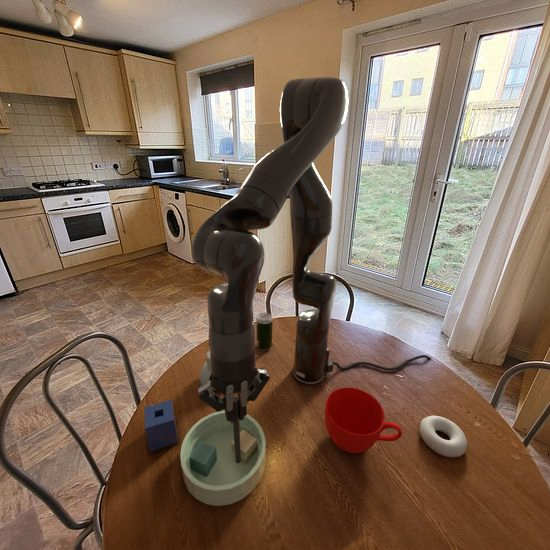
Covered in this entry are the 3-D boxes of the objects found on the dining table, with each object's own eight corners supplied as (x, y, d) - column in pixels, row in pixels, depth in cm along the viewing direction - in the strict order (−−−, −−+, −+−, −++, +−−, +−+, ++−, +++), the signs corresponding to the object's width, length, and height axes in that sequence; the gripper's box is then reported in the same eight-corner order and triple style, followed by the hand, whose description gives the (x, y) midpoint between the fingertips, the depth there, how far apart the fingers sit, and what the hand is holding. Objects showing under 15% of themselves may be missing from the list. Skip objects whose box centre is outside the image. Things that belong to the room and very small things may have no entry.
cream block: (256, 450, 66) (256, 438, 64) (245, 465, 63) (245, 453, 61) (243, 441, 68) (242, 429, 66) (231, 455, 65) (230, 442, 63)
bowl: (250, 417, 74) (250, 401, 72) (277, 485, 60) (278, 468, 57) (178, 440, 68) (176, 424, 66) (189, 524, 53) (186, 506, 51)
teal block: (217, 459, 64) (216, 447, 62) (206, 477, 60) (205, 465, 59) (201, 452, 65) (200, 440, 63) (190, 469, 62) (188, 457, 60)
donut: (469, 467, 64) (459, 428, 73) (474, 457, 63) (463, 419, 71) (420, 452, 67) (416, 416, 75) (423, 442, 65) (419, 407, 74)
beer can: (261, 353, 97) (261, 323, 92) (253, 344, 101) (253, 315, 96) (275, 347, 100) (275, 318, 95) (266, 339, 104) (267, 310, 99)
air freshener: (214, 365, 91) (212, 339, 87) (238, 370, 89) (238, 344, 85) (196, 391, 82) (193, 363, 77) (223, 398, 80) (221, 369, 75)
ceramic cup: (395, 483, 61) (405, 451, 56) (316, 454, 66) (319, 423, 62) (395, 430, 72) (403, 401, 68) (327, 409, 77) (331, 381, 73)
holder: (175, 422, 72) (171, 399, 69) (178, 444, 67) (174, 419, 64) (149, 430, 70) (144, 406, 67) (150, 453, 65) (144, 428, 62)
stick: (240, 457, 62) (237, 395, 54) (241, 462, 61) (239, 400, 53) (234, 458, 62) (231, 397, 54) (236, 464, 61) (232, 402, 53)
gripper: (194, 370, 43) (203, 448, 50) (278, 349, 48) (276, 422, 55) (187, 340, 49) (197, 413, 56) (262, 324, 54) (262, 393, 61)
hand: (236, 417), depth 56 cm, fingers closed on stick, 1 cm apart
